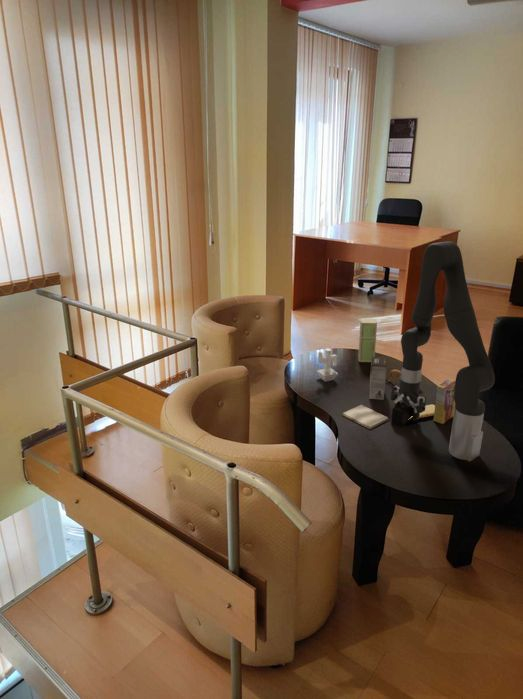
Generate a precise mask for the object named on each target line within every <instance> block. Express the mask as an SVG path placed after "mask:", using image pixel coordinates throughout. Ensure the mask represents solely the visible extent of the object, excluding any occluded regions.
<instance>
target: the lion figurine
mask: <svg viewBox="0 0 523 699" xmlns="http://www.w3.org/2000/svg"><path fill="white" fill-rule="evenodd" d="M400 376H401V370H399V369H392V370H390V372H389V373H388V375H387V377H386V381H385V383H386V382H392V384H393V386H396V385H397V383H396V382H395V380H396V378H398V379H400Z"/></svg>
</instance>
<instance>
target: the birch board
mask: <svg viewBox="0 0 523 699" xmlns="http://www.w3.org/2000/svg"><path fill="white" fill-rule="evenodd" d="M342 416H344V417H345V418H347V419H349V420H351V421H353V422H355V423H356V424H359V425H361V426H362V427H365V428H367V429H368V430H371V429H373V428H375V427H377V426H379V425H381V424H383V423H385V422H387V421H389V417H388V416H386V415H383V414H382V413H379V412H378V411H375V410H373V409H371V408H369V407H367V406H365V405H363V404H360V405H357V406H356V407H352V408H351V409H348V410H347V411H343V412H342Z"/></svg>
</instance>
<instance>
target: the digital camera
mask: <svg viewBox="0 0 523 699" xmlns="http://www.w3.org/2000/svg"><path fill="white" fill-rule="evenodd" d="M414 404H415V402H414ZM394 406H395V405H394ZM394 406H393V407H392V410H391V421H390V424H392V425H394V426H397V427H399V428H401V427H404V426H405V425H407V424H408V423H409V422H411V421H413V417H412V418H411V419H409V418H410V417H411V416H413V415H414V412H415V411H414V409H413V407H411V405H410V404H408V403H407V402H404V401H403V400H402V401H400V404H398V405H397V406H395V407H394ZM416 408H417V407H416ZM408 419H409V420H408Z"/></svg>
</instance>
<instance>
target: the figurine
mask: <svg viewBox="0 0 523 699" xmlns="http://www.w3.org/2000/svg"><path fill="white" fill-rule="evenodd" d="M317 355H318V357H317V358H318V359H317V360H318V363H320V364H323V363H324V365H323V366H324V368H321V369H316V372H317V374H318V376H319V377H320V379H321V380H323V381H324V382H325V383H326V382H330V381H334V380H335V379H336V377H337V376H338V374H339V373H338V372H337V371H335V369H333V368H331V365H333V366H334V367H335V366H337V365H338V355H337V354H332V348H329V347H327V348H326V347H325V348H324V355H323V351H320V350H319V351H318V354H317ZM331 362H332V364H331Z"/></svg>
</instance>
